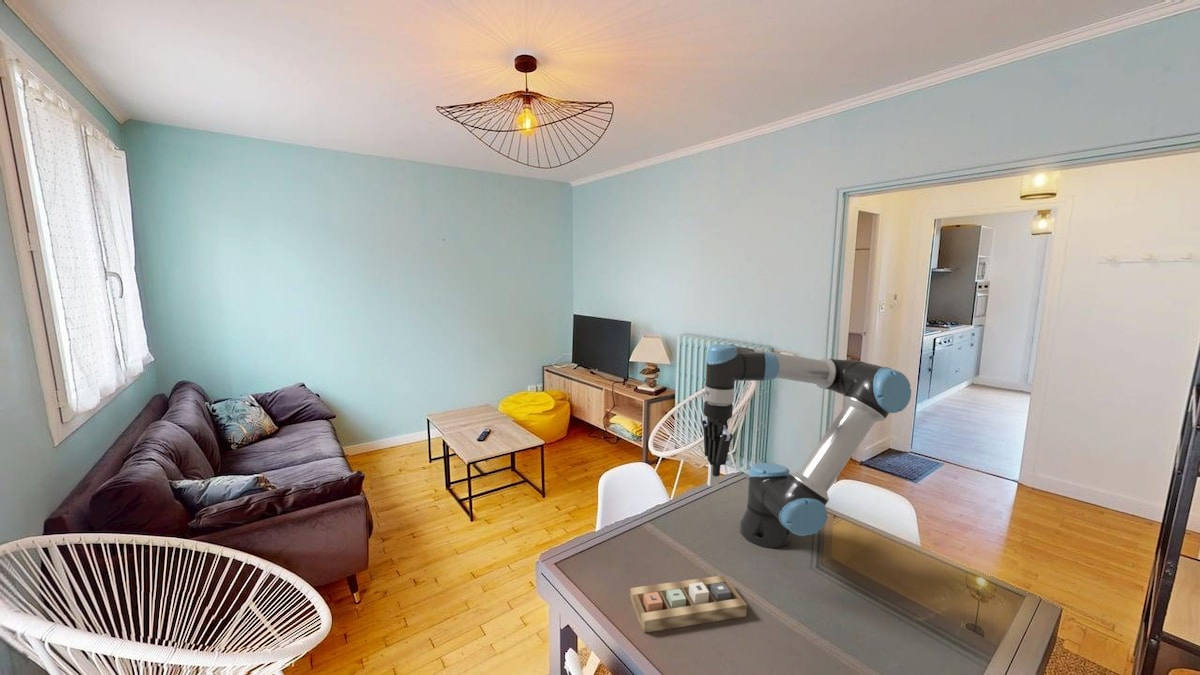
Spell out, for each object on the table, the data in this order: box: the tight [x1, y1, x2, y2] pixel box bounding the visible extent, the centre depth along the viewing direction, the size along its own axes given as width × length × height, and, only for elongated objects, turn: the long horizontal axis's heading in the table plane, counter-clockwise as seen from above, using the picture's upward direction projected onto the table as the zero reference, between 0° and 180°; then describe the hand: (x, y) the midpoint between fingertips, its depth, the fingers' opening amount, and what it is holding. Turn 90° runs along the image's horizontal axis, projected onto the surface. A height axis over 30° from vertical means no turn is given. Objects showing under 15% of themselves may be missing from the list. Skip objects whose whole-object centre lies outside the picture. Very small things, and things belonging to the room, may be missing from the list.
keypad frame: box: [629, 574, 748, 634], centre depth 109 cm, size 26×11×3 cm, turn 103°
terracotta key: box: [642, 592, 663, 612], centre depth 107 cm, size 4×4×3 cm
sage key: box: [666, 589, 686, 609], centre depth 108 cm, size 4×4×3 cm
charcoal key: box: [710, 582, 731, 602], centre depth 111 cm, size 4×4×3 cm
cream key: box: [689, 582, 709, 605], centre depth 109 cm, size 4×4×3 cm
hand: (713, 485), depth 122 cm, fingers closed
